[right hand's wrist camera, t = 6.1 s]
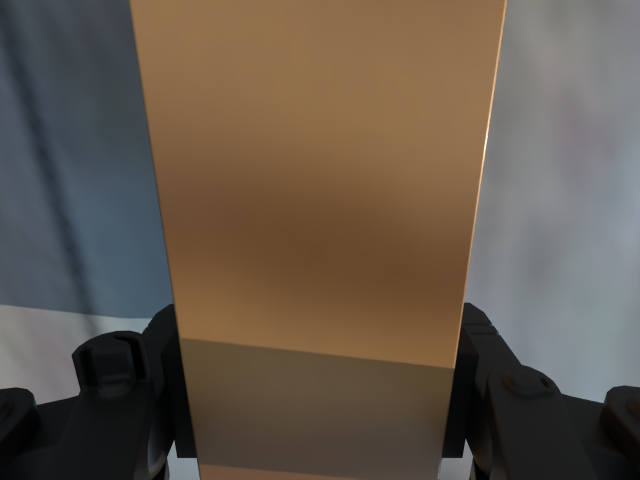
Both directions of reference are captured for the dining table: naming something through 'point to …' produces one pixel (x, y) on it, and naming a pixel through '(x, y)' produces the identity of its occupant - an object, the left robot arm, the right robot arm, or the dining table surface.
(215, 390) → the beam
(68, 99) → the dining table surface
